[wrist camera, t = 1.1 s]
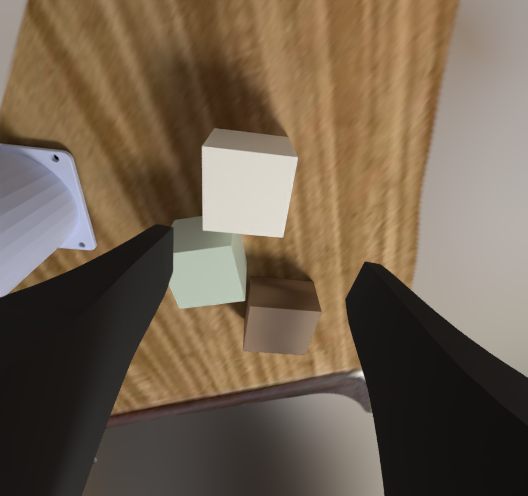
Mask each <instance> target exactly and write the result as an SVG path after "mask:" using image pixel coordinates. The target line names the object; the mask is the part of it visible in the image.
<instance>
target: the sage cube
mask: <svg viewBox="0 0 528 496" xmlns="http://www.w3.org/2000/svg"><path fill="white" fill-rule="evenodd" d="M171 227H174V245H173V273H172V276H171V279H170V282H169V286H170V288H171V291H172V293H173V295H174V297H175V299H176V302H177V304H178V306H179V308H180V309H182V308H191V307H199V306H207V305H215V304H224V303H232V302H240V301H245V292H246V272H247V259H246V254H245V250H244V245H243V241H242V237H241V234H237V233H226V232H215V231H204V230H203V216H199V217H192V218H184V219H177V220H174V222H173V224H172V226H171Z"/></svg>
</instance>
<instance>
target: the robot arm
mask: <svg viewBox="0 0 528 496" xmlns="http://www.w3.org/2000/svg"><path fill="white" fill-rule="evenodd" d="M54 155H56V156H58V158H59V160H57V159H56V158H55V157H54ZM81 242H82V243H84V244H85V245H83V244H82V243H81ZM173 245H174V227H169V226H163V225H157V224H156V225H154V226H152V227H150V228H149V229H147V230H145V231H144V232H142V233H140V234H138V235H137V236H135V237H133V238H132V239H130V240H128V241H126V242H125V243H123V244H121V245H119V246H118V247H116V248H114V249H112V250H111V251H109V252H107V253H105V254H103V255H101V256H99V257H97V258H95V259H93V260H91V261H89V262H87V263H85V264H83V265H81V266H79V267H77V268H75V269H73V270H70V271H68V272H66V273H64V274H61V275H59V276H56V277H54V278H51V279H49V280H47V281H44V282H42V283H39V284H37V285H34V286H31V287H28V288H25V289H23V290H20V291H17V292H14V293H11V294H8V293H9V292H10V291H11V290H12V289H13V288H15V287H16V286H17V285H18V284H19V283H20V282H21V281H22V280H23V279H24V278H25V277H27V276H28V275H29V274H30V273H31V272H32V271H33V270H34V269H35V268H36V267H38V266H39V265H40V264H41V263H42V262H43V261H44V260H45V259H46V258H47V257H48V256H50V255H51V254H52V253H53V252H54V251H55V250H56V249H57V248H69V249H81V250H93V249H94V248H95V247H96V246H97V243H96V240H95V236H94V232H93V229H92V225H91V221H90V218H89V214H88V210H87V207H86V203H85V199H84V196H83V192H82V188H81V185H80V181H79V177H78V174H77V170H76V166H75V163H74V159H73V157H72V155H71V154H70V153H69V152H67V151H64V150H57V149H47V148H38V147H29V146H20V145H11V144H2V143H0V496H82V493H83V491H84V487H85V484H86V482H87V478H88V476H89V473H90V470H91V467H92V464H93V461H94V458H95V455H96V453H97V450H98V447H99V444H100V442H101V438H102V436H103V433H104V430H105V428H106V425H107V422H108V419H109V417H110V414H111V412H112V409H113V406H114V404H115V401H116V398H117V396H118V393H119V391H120V388H121V385H122V383H123V380H124V378H125V375H126V373H127V370H128V368H129V365H130V363H131V360H132V358H133V356H134V354H135V352H136V350H137V348H138V346H139V344H140V342H141V340H142V338H143V336H144V334H145V332H146V330H147V328H148V327H149V325H150V323H151V321H152V319H153V317H154V315H155V313H156V311H157V309H158V307H159V305H160V303H161V301H162V299H163V297H164V295H165V293H166V290H167V288H168V285H169V282H170V279H171V276H172V273H173ZM7 294H8V295H7ZM345 301H346V309H347V316H348V322H349V326H350V330H351V333H352V337H353V340H354V343H355V347H356V350H357V353H358V357H359V360H360V363H361V367H362V370H363V373H364V377H365V380H366V384H367V388H368V392H369V397H370V402H371V408H372V413H373V417H374V424H375V430H376V435H377V442H378V448H379V455H380V463H381V471H382V478H383V486H384V495H385V496H528V378H527V377H526V376H524V375H523V374H521V373H520V372H518V371H517V370H515V369H513V368H512V367H510V366H509V365H507V364H506V363H504V362H503V361H501V360H500V359H498V358H497V357H495V356H494V355H492V354H491V353H489V352H488V351H486V350H485V349H484V348H482V347H481V346H480V345H478V344H477V343H475V342H474V341H473V340H471V339H470V338H468V337H467V336H466V335H464V334H463V333H462V332H460V331H459V330H458V329H457V328H455V327H454V326H453V325H452V324H450V323H449V322H448V321H447V320H445V319H444V318H443V317H442V316H440V315H439V314H438V313H437V312H435V311H434V310H433V309H432V308H431V307H429V305H427V304H426V303H425V302H424V301H423V300H421V299H420V298H419V297H418V296H417V295H416V294H415V293H414V292H413V291H411V290H410V289H409V288H408V287H407V286H406V285H405V284H404V283H402V282H401V281H400V280H399V279H398V278H397V277H396V276H394V275H393V274H392V273H391V272H390V271H388V270H387V269H386V268H385V267H383V266H382V265H380V264H376V263H371V262H364V264H363V266H362V268H361V270H360V272H359V274H358V276H357V278H356V280H355V282H354V284H353V285H352V287H351V289H350V291H349V293H348V295H347V297H346V299H345Z"/></svg>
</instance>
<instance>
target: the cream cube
mask: <svg viewBox="0 0 528 496" xmlns="http://www.w3.org/2000/svg"><path fill="white" fill-rule="evenodd" d="M297 160H298V156H297V154H296V152H295V150H294V147H293V145H292V143H291V141H290V139H289V137H284V136H275V135H267V134H259V133H251V132H243V131H234V130H226V129H218V128H214V130H213V131H212V132H211V134H210V135H209V137H208V138H207V140H206V141H205V142H204V144H203V145H202V206H203V230H204V231H215V232H226V233H237V234H248V235H259V236H270V237H281V238H283V235H284V230H285V225H286V219H287V214H288V208H289V203H290V198H291V192H292V187H293V182H294V176H295V171H296V165H297Z"/></svg>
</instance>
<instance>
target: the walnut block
mask: <svg viewBox="0 0 528 496" xmlns="http://www.w3.org/2000/svg"><path fill="white" fill-rule="evenodd" d="M320 315H321V308H320V304H319V301H318V297H317V293H316V289H315V286H314V282H312V281H301V280H290V279H279V278H268V277H257V276H251V278H250V285H249V292H248V299H247V306H246V313H245V319H244V341H243V351H248V352H264V353H279V354H295V355H306V352H307V350H308V347H309V344H310V342H311V339H312V336H313V334H314V331H315V328H316V325H317V323H318V320H319V317H320Z"/></svg>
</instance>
